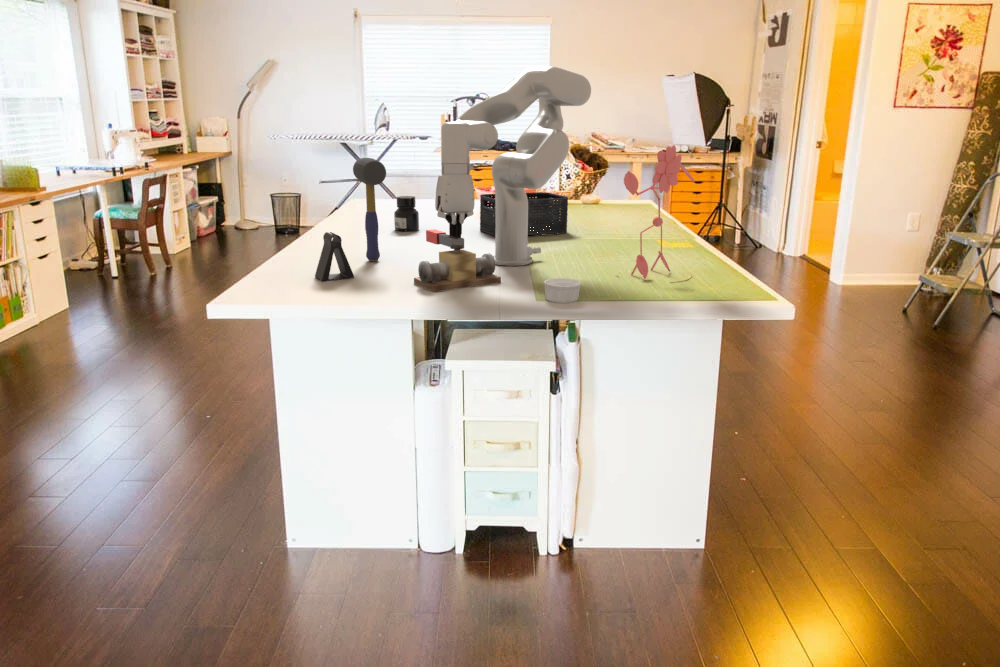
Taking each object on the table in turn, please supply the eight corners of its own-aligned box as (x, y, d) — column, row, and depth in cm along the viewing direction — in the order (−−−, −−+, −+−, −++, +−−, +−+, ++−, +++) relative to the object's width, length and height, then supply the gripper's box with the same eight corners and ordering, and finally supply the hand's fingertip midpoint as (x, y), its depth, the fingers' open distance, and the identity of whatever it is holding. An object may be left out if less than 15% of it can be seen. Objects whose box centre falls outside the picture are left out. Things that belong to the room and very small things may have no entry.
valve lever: (466, 249, 200) (466, 237, 199) (454, 250, 198) (454, 239, 197) (436, 240, 213) (436, 229, 212) (425, 241, 211) (424, 230, 210)
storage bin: (545, 226, 295) (546, 190, 291) (570, 233, 279) (572, 196, 275) (476, 231, 284) (476, 194, 280) (499, 239, 267) (499, 200, 263)
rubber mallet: (391, 263, 226) (387, 159, 217) (366, 266, 223) (361, 159, 214) (379, 256, 236) (375, 156, 228) (355, 258, 233) (350, 156, 225)
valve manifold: (479, 274, 212) (479, 242, 210) (500, 282, 204) (501, 248, 201) (414, 283, 202) (413, 249, 199) (434, 292, 193) (433, 256, 190)
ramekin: (577, 294, 192) (578, 277, 190) (582, 304, 183) (583, 286, 182) (542, 295, 191) (542, 277, 190) (545, 304, 183) (545, 286, 181)
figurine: (609, 278, 208) (618, 145, 197) (665, 265, 225) (676, 142, 214) (656, 290, 197) (668, 150, 186) (711, 275, 214) (725, 146, 203)
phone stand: (321, 281, 203) (318, 236, 200) (314, 277, 208) (311, 233, 205) (354, 278, 208) (352, 233, 204) (346, 273, 213) (344, 230, 209)
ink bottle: (391, 228, 287) (390, 196, 283) (414, 227, 290) (413, 195, 287) (399, 232, 278) (398, 199, 275) (422, 231, 282) (421, 198, 278)
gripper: (472, 168, 213) (471, 234, 218) (424, 169, 205) (424, 238, 210) (486, 170, 207) (486, 238, 212) (437, 171, 199) (438, 242, 204)
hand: (455, 238), depth 211 cm, fingers closed
